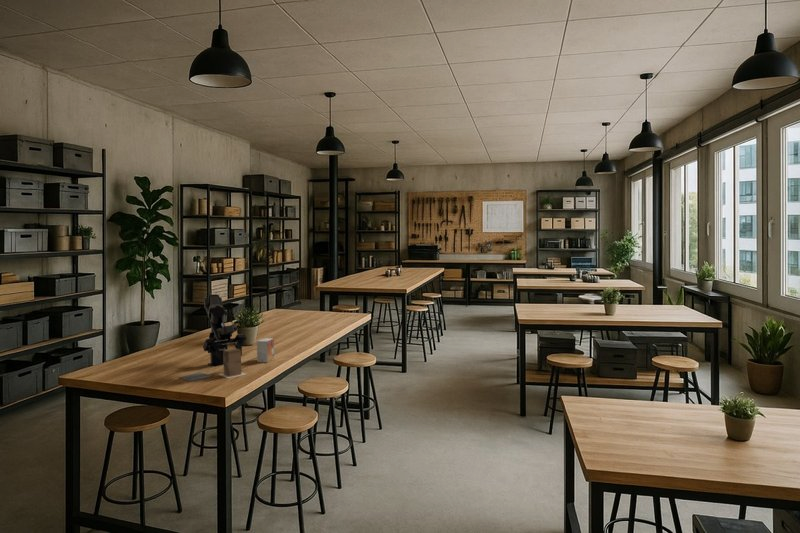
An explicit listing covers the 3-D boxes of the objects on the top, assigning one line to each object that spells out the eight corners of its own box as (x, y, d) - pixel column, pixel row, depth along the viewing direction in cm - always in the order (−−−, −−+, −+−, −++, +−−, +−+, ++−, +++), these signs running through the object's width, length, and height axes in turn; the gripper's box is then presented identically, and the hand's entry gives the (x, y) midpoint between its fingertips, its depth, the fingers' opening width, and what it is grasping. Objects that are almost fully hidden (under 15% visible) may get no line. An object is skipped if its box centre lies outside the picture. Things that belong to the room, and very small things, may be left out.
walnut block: (223, 374, 232) (223, 350, 231) (235, 371, 236) (234, 348, 235) (229, 376, 228) (228, 351, 227) (241, 374, 232) (240, 349, 231)
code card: (218, 374, 232) (218, 374, 232) (237, 371, 238) (237, 370, 238) (227, 378, 225) (227, 378, 225) (246, 374, 232) (246, 374, 232)
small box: (267, 362, 253) (267, 341, 253) (257, 362, 254) (256, 341, 254) (274, 358, 261) (274, 338, 260) (264, 358, 262) (263, 337, 262)
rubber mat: (178, 378, 226) (178, 377, 226) (199, 373, 234) (199, 372, 234) (192, 382, 220) (192, 380, 220) (212, 376, 228) (212, 375, 228)
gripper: (204, 321, 228) (216, 349, 220) (244, 316, 241) (256, 343, 233) (197, 336, 234) (209, 365, 226) (236, 331, 247) (248, 357, 239)
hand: (231, 357), depth 231 cm, fingers open, 9 cm apart
